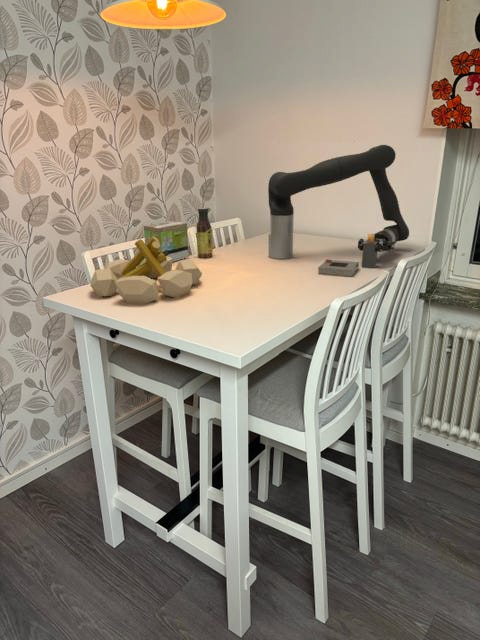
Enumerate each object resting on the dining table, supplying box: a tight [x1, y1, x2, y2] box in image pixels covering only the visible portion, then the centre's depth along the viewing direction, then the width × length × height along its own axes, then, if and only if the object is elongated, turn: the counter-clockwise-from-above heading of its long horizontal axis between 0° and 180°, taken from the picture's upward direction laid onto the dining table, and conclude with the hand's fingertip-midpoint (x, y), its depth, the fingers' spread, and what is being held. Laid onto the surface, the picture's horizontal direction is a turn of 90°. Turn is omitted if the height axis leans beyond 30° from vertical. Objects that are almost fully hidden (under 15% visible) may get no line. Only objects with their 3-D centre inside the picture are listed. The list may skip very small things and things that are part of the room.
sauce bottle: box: [195, 207, 213, 259], centre depth 200 cm, size 6×6×20 cm
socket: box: [317, 258, 360, 278], centre depth 177 cm, size 12×12×3 cm
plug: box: [361, 233, 378, 269], centre depth 182 cm, size 5×5×12 cm
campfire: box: [89, 236, 203, 305], centre depth 160 cm, size 35×34×17 cm
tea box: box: [143, 220, 189, 263], centre depth 197 cm, size 15×10×15 cm, turn 143°
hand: (368, 248), depth 179 cm, fingers closed on plug, 5 cm apart
